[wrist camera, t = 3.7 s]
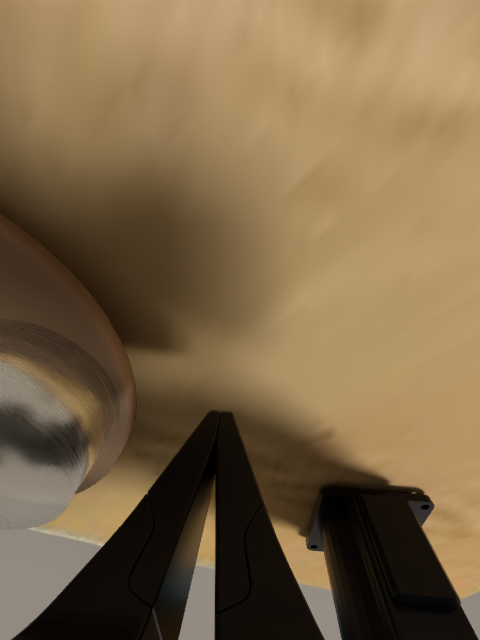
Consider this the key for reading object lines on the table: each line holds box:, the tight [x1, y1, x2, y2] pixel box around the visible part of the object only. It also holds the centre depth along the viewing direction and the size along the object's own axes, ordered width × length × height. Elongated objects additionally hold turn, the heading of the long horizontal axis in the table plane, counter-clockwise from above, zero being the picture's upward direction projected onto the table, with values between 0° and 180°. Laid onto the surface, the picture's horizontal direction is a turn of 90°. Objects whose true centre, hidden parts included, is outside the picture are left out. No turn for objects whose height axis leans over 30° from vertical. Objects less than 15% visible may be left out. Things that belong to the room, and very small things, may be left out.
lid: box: [0, 319, 120, 529], centre depth 8 cm, size 7×7×3 cm
